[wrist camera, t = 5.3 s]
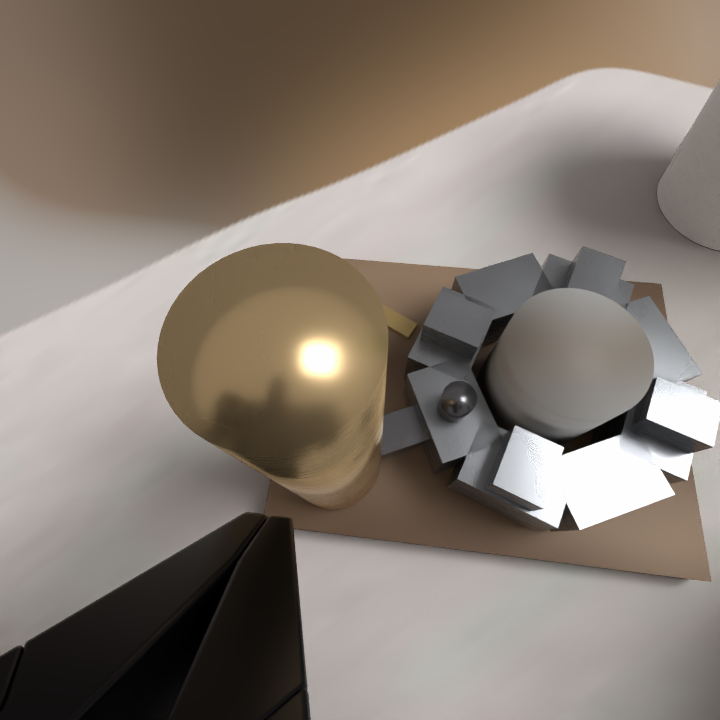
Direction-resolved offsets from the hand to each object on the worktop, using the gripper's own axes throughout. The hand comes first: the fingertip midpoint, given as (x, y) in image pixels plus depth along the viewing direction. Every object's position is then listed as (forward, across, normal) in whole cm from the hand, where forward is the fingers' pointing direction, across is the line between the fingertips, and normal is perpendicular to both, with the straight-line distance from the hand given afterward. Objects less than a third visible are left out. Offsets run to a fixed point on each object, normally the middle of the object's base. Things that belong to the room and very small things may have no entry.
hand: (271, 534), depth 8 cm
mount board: (+10, +5, -2) cm, 12 cm away
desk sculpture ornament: (+8, +5, -2) cm, 10 cm away
